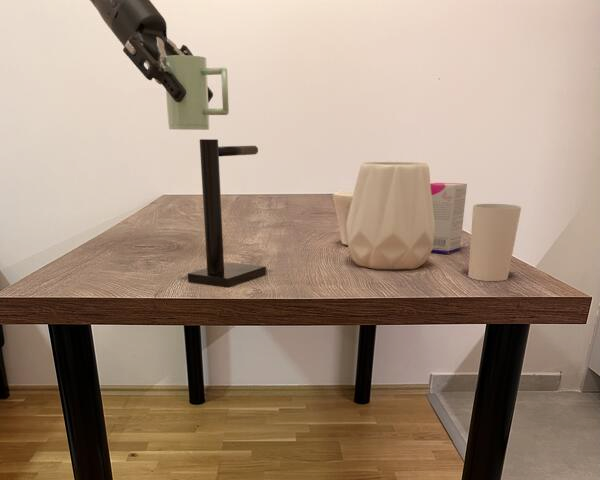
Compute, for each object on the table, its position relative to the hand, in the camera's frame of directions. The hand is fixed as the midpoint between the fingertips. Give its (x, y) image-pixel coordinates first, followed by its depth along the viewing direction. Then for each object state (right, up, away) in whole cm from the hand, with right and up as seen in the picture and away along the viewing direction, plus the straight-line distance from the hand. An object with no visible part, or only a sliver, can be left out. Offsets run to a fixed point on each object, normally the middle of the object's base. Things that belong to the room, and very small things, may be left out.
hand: (195, 98), depth 100 cm
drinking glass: (+44, -29, -5) cm, 54 cm away
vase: (+31, -25, +4) cm, 40 cm away
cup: (+27, -17, +21) cm, 38 cm away
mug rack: (+7, -29, -5) cm, 30 cm away
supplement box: (+42, -20, +15) cm, 49 cm away
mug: (+1, -4, +2) cm, 4 cm away
